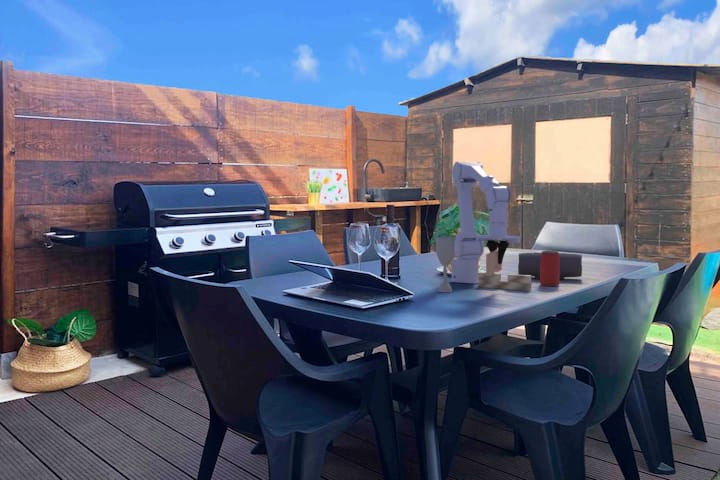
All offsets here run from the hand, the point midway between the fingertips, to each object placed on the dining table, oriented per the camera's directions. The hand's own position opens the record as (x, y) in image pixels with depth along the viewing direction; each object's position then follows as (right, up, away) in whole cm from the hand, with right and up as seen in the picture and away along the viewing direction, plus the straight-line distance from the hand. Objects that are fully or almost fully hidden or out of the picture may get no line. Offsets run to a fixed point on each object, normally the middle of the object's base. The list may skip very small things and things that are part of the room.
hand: (497, 263), depth 204 cm
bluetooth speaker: (+26, -7, +29) cm, 40 cm away
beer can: (+21, -8, +13) cm, 26 cm away
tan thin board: (-2, -3, -3) cm, 4 cm away
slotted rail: (+4, -9, +7) cm, 12 cm away
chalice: (-17, -10, +3) cm, 20 cm away
